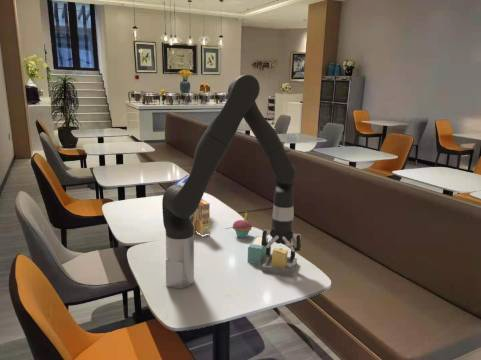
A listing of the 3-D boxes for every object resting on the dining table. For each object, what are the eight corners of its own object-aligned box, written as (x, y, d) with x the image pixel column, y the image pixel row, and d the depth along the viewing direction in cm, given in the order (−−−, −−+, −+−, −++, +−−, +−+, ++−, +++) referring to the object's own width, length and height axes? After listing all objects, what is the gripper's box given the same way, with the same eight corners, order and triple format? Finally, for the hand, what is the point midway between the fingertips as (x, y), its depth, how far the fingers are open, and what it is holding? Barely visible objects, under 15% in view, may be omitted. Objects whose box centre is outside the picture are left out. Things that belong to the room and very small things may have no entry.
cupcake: (254, 234, 170) (255, 209, 167) (245, 241, 163) (246, 214, 160) (238, 230, 174) (239, 206, 171) (228, 236, 167) (229, 211, 164)
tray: (291, 276, 134) (292, 271, 133) (261, 271, 137) (262, 266, 136) (296, 263, 144) (296, 258, 143) (268, 258, 147) (268, 253, 146)
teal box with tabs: (260, 264, 142) (260, 248, 141) (247, 261, 144) (248, 247, 142) (267, 251, 154) (268, 237, 152) (255, 249, 155) (256, 235, 153)
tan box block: (284, 269, 138) (285, 253, 136) (271, 267, 139) (272, 251, 137) (286, 264, 141) (287, 249, 140) (273, 262, 143) (274, 247, 141)
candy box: (210, 235, 168) (210, 203, 164) (201, 237, 165) (201, 204, 162) (200, 229, 175) (200, 197, 171) (192, 231, 172) (192, 199, 169)
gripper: (261, 217, 134) (259, 259, 138) (301, 222, 130) (297, 265, 134) (265, 211, 141) (263, 251, 145) (303, 216, 137) (300, 256, 141)
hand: (280, 258), depth 139 cm, fingers open, 8 cm apart
